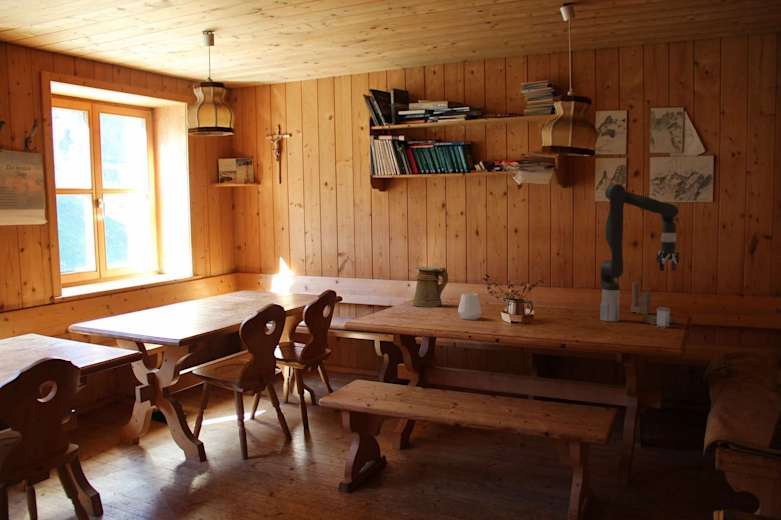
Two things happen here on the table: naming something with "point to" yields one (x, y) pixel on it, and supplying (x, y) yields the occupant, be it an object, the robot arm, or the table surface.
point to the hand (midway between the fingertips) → (667, 270)
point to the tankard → (429, 286)
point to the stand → (654, 320)
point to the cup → (469, 306)
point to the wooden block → (640, 300)
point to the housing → (663, 317)
